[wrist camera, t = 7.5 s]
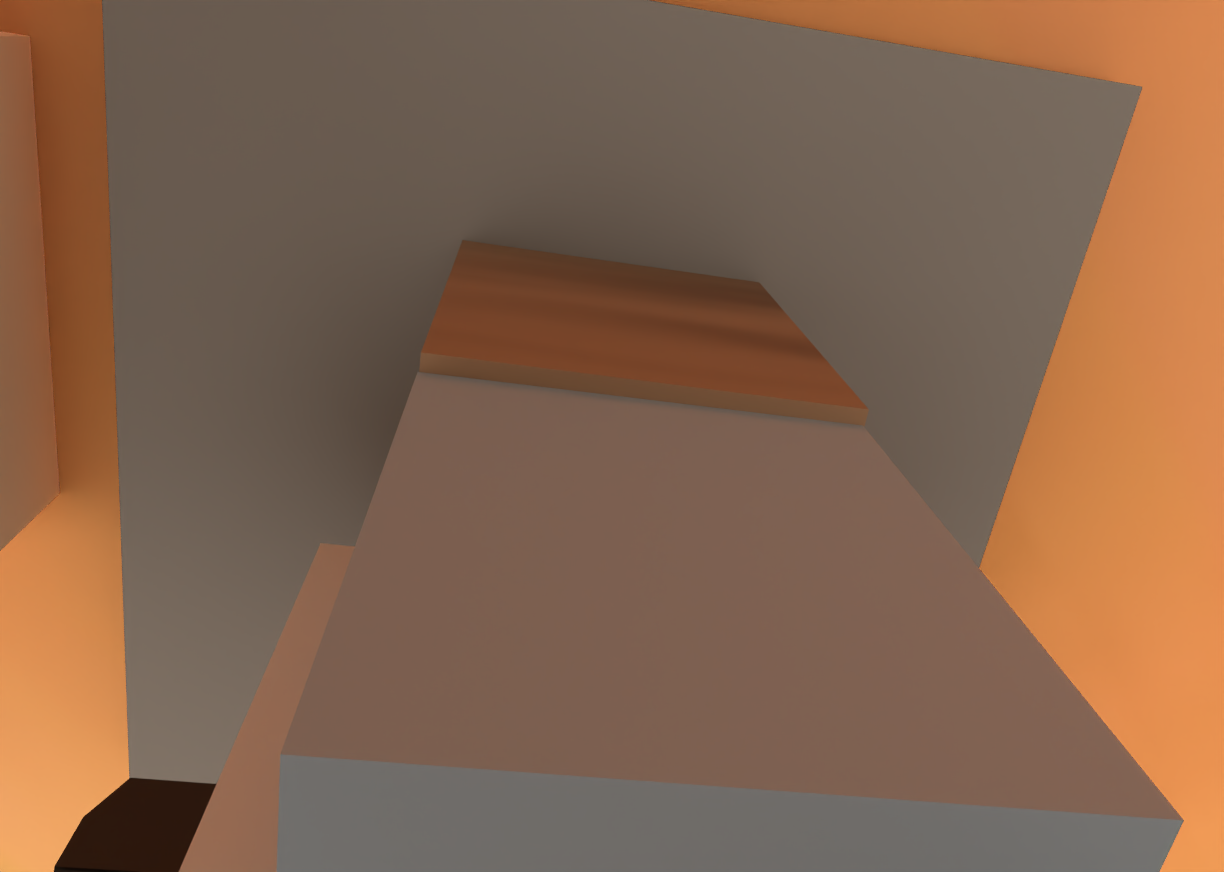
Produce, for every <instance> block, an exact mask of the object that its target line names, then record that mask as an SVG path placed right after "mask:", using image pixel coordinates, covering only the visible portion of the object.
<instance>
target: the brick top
mask: <svg viewBox="0 0 1224 872" xmlns="http://www.w3.org/2000/svg"><path fill="white" fill-rule="evenodd" d="M1183 821H1184V820H1183V819H1182V818H1181V816H1180V815H1179V814H1178V813H1177V812H1176V810H1175V809H1174V808H1173V807H1172V805H1171V804H1170V803H1169V802H1168V800H1167V799H1166V798H1165V797H1164V796H1163V794H1162V793H1161V792H1160V791H1159V789H1158V788H1157V787H1156V786H1155V784H1154V783H1153V782H1152V781H1151V780H1150V778H1149V777H1148V776H1147V775H1146V773H1145V772H1144V771H1143V770H1142V768H1141V767H1140V766H1139V765H1138V764H1137V762H1136V761H1135V760H1134V759H1133V757H1132V756H1131V755H1130V754H1129V752H1128V751H1127V750H1126V749H1125V748H1124V746H1123V745H1122V744H1121V743H1120V741H1119V740H1118V739H1117V738H1116V736H1115V735H1114V734H1113V733H1112V732H1111V730H1110V729H1109V728H1108V727H1107V725H1106V724H1105V723H1104V722H1103V720H1102V719H1101V718H1100V717H1099V716H1098V714H1097V713H1096V712H1095V711H1094V709H1093V708H1092V707H1091V706H1090V704H1089V703H1088V702H1087V701H1086V699H1085V698H1084V697H1083V696H1082V695H1081V693H1080V692H1079V691H1078V690H1077V688H1076V687H1075V686H1074V685H1073V683H1072V682H1071V681H1070V680H1069V679H1068V677H1067V676H1066V675H1065V674H1064V672H1063V671H1062V670H1061V669H1060V667H1059V666H1058V665H1057V664H1056V663H1055V661H1054V660H1053V659H1052V658H1051V656H1050V655H1049V654H1048V653H1047V651H1046V650H1045V649H1044V648H1043V647H1042V645H1041V644H1040V643H1039V642H1038V640H1037V639H1036V638H1035V637H1034V635H1033V634H1032V633H1031V632H1030V631H1029V629H1028V628H1027V627H1026V626H1025V624H1024V623H1023V622H1022V621H1021V619H1020V618H1019V617H1018V616H1017V615H1016V613H1015V612H1014V611H1013V610H1012V608H1011V607H1010V606H1009V605H1008V603H1007V602H1006V601H1005V600H1004V599H1003V597H1002V596H1001V595H1000V594H999V592H998V591H997V590H996V589H995V587H994V586H993V585H992V584H991V583H990V581H989V580H988V579H987V578H986V576H985V575H984V574H983V573H982V571H981V570H980V569H979V568H978V567H977V565H976V564H975V563H974V562H973V560H972V559H971V558H970V557H969V555H968V554H967V553H966V552H965V551H964V549H963V548H962V547H961V546H960V544H959V543H958V542H957V541H956V539H955V538H954V537H953V536H952V535H951V533H950V532H949V531H948V530H947V528H946V527H945V526H944V525H943V523H942V522H941V521H940V520H939V519H938V517H937V516H936V515H935V514H934V512H933V511H932V510H931V509H930V507H929V506H928V505H927V504H926V502H925V501H924V500H923V499H922V498H921V496H920V495H919V494H918V493H917V491H916V490H915V489H914V488H913V486H912V485H911V484H910V483H909V482H908V480H907V479H906V478H905V477H904V475H903V474H902V473H901V472H900V470H899V469H898V468H897V467H896V466H895V464H894V463H893V462H892V461H891V459H890V458H889V457H888V456H887V454H886V453H885V452H884V451H883V450H882V448H881V447H880V446H879V445H878V443H877V442H876V441H875V440H874V438H873V437H872V436H871V435H870V434H869V432H868V431H867V430H866V429H865V427H864V426H862V425H854V424H846V423H837V422H829V421H821V420H813V419H804V418H796V417H788V416H779V415H771V414H763V413H755V412H746V411H738V410H730V409H721V408H713V407H705V406H697V405H688V404H680V403H672V402H663V401H655V400H647V399H639V398H630V397H622V396H614V395H605V394H597V393H589V392H581V391H572V390H564V389H556V388H547V387H539V386H531V385H523V384H514V383H506V382H498V381H489V380H481V379H473V378H465V377H456V376H448V375H440V374H431V373H423V372H417V375H416V378H415V380H414V383H413V386H412V389H411V392H410V394H409V397H408V400H407V403H406V406H405V408H404V411H403V414H402V417H401V419H400V422H399V425H398V428H397V431H396V433H395V436H394V439H393V442H392V445H391V447H390V450H389V453H388V456H387V458H386V461H385V464H384V467H383V470H382V472H381V475H380V478H379V481H378V484H377V486H376V489H375V492H374V495H373V497H372V500H371V503H370V506H369V509H368V511H367V514H366V517H365V520H364V523H363V525H362V528H361V531H360V534H359V536H358V539H357V542H356V545H355V548H354V550H353V553H352V556H351V559H350V562H349V564H348V567H347V570H346V573H345V575H344V578H343V581H342V584H341V587H340V589H339V592H338V595H337V598H336V601H335V603H334V606H333V609H332V612H331V614H330V617H329V620H328V623H327V626H326V628H325V631H324V634H323V637H322V640H321V642H320V645H319V648H318V651H317V653H316V656H315V659H314V662H313V665H312V667H311V670H310V673H309V676H308V679H307V681H306V684H305V687H304V690H303V692H302V695H301V698H300V701H299V704H298V706H297V709H296V712H295V715H294V718H293V720H292V723H291V726H290V729H289V731H288V734H287V737H286V740H285V743H284V745H283V748H282V751H281V754H280V779H279V811H278V843H277V872H1159V871H1160V869H1161V867H1162V865H1163V863H1164V861H1165V859H1166V857H1167V855H1168V852H1169V850H1170V848H1171V846H1172V844H1173V842H1174V840H1175V838H1176V836H1177V834H1178V832H1179V829H1180V827H1181V825H1182V823H1183Z"/></svg>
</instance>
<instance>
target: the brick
mask: <svg viewBox="0 0 1224 872" xmlns="http://www.w3.org/2000/svg"><path fill="white" fill-rule="evenodd" d="M59 493H60V487H59V472H58V456H57V441H56V426H55V410H54V395H53V380H52V364H51V349H50V334H49V319H48V303H47V288H46V273H45V257H44V242H43V227H42V211H41V196H40V181H39V166H38V150H37V135H36V120H35V104H34V89H33V74H32V58H31V43H30V36H27V35H21V34H14V33H8V32H1V31H0V551H1V550H2V549H3V548H4V547H5V546H6V545H7V544H8V543H9V542H10V541H11V540H12V539H13V538H14V537H15V536H16V535H17V534H18V533H19V532H20V531H21V530H22V529H23V528H24V527H25V526H26V525H27V524H28V523H29V522H30V521H32V520H33V519H34V518H35V517H36V516H37V515H38V514H39V513H40V512H41V511H42V510H43V509H44V508H45V507H46V506H47V505H48V504H49V503H50V502H51V501H52V500H53V499H54V498H55V497H56V496H57V495H58V494H59Z"/></svg>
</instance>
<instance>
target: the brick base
mask: <svg viewBox="0 0 1224 872" xmlns="http://www.w3.org/2000/svg"><path fill="white" fill-rule="evenodd" d="M419 372H423V373H431V374H440V375H448V376H456V377H465V378H473V379H481V380H489V381H498V382H506V383H514V384H523V385H531V386H539V387H547V388H556V389H564V390H572V391H581V392H589V393H597V394H605V395H614V396H622V397H630V398H639V399H647V400H655V401H663V402H672V403H680V404H688V405H697V406H705V407H713V408H721V409H730V410H738V411H746V412H755V413H763V414H771V415H779V416H788V417H796V418H804V419H813V420H821V421H829V422H837V423H846V424H854V425H862V426H865V422H866V419H867V415H868V411H869V409H868V408H867V407H866V406H865V404H864V403H863V402H862V401H861V400H860V399H859V397H858V396H857V395H856V394H855V393H854V392H853V390H852V389H851V388H850V387H849V386H848V385H847V384H846V382H845V381H844V380H843V379H842V378H841V377H840V375H839V374H838V373H837V372H836V371H835V370H834V368H833V367H832V366H831V365H830V364H829V363H828V361H827V360H826V359H825V358H824V357H823V356H822V355H821V353H820V352H819V351H818V350H817V349H816V348H815V346H814V345H813V344H812V343H811V342H810V341H809V339H808V338H807V337H806V336H805V335H804V334H803V332H802V331H801V330H800V329H799V328H798V327H797V326H796V324H795V323H794V322H793V321H792V320H791V319H790V317H789V316H788V315H787V314H786V313H785V312H784V310H783V309H782V308H781V307H780V306H779V305H778V303H777V302H776V301H775V300H774V299H773V298H772V297H771V295H770V294H769V293H768V292H767V291H766V290H765V288H764V287H763V286H762V285H761V284H760V283H759V282H754V281H747V280H740V279H732V278H725V277H718V276H711V275H704V274H697V273H690V272H683V271H676V270H669V269H662V268H655V267H648V266H641V265H634V264H627V263H620V262H613V261H606V260H599V259H592V258H585V257H578V256H571V255H564V254H557V253H550V252H543V251H536V250H528V249H521V248H514V247H507V246H500V245H493V244H486V243H479V242H472V241H465V240H462V243H461V246H460V248H459V251H458V254H457V256H456V259H455V262H454V265H453V267H452V270H451V273H450V275H449V278H448V281H447V283H446V286H445V289H444V292H443V294H442V297H441V300H440V302H439V305H438V308H437V310H436V313H435V316H434V319H433V321H432V324H431V327H430V329H429V332H428V335H427V338H426V340H425V343H424V346H423V348H422V351H421V358H420V369H419Z"/></svg>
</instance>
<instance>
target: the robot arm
mask: <svg viewBox="0 0 1224 872" xmlns="http://www.w3.org/2000/svg"><path fill="white" fill-rule="evenodd" d="M354 548H355V547H354V546H344V545H335V544H325V543H320V546H319V548H318V550H317V553H316V555H315V557H314V560H313V562H312V564H311V567H310V569H309V571H308V574H307V576H306V578H305V580H304V583H303V585H302V587H301V590H300V592H299V594H298V597H297V599H296V601H295V604H294V606H293V608H292V611H291V613H290V615H289V618H288V620H287V622H286V624H285V627H284V629H283V631H282V634H281V636H280V638H279V641H278V643H277V645H276V648H275V650H274V652H273V655H272V657H271V659H270V662H269V664H268V666H267V668H266V671H265V673H264V675H263V678H262V680H261V682H260V685H259V687H258V689H257V692H256V694H255V696H254V699H253V701H252V703H251V706H250V708H249V710H248V713H247V715H246V717H245V719H244V722H243V724H242V726H241V729H240V731H239V733H238V736H237V738H236V740H235V743H234V745H233V747H232V750H231V752H230V754H229V757H228V759H227V761H226V763H225V766H224V768H223V770H222V773H221V775H220V777H219V780H218V782H217V784H212V783H198V782H184V781H170V780H157V779H143V778H130V779H129V780H127V781H126V782H125V783H124V784H123V785H121V786H120V787H119V788H118V789H117V790H115V791H114V792H113V793H112V794H111V795H109V796H108V797H107V798H106V799H105V800H103V801H102V802H101V803H100V804H99V805H97V806H96V807H95V808H94V809H93V810H91V811H90V812H89V813H88V814H87V815H85V816H84V817H83V819H82V820H81V822H80V824H79V826H78V827H77V829H76V831H75V832H74V834H73V836H72V838H71V839H70V841H69V843H68V844H67V846H66V848H65V850H64V851H63V853H62V855H61V856H60V858H59V860H58V862H57V863H56V865H55V869H54V872H277V843H278V811H279V779H280V754H281V751H282V748H283V745H284V743H285V740H286V737H287V734H288V731H289V729H290V726H291V723H292V720H293V718H294V715H295V712H296V709H297V706H298V704H299V701H300V698H301V695H302V692H303V690H304V687H305V684H306V681H307V679H308V676H309V673H310V670H311V667H312V665H313V662H314V659H315V656H316V653H317V651H318V648H319V645H320V642H321V640H322V637H323V634H324V631H325V628H326V626H327V623H328V620H329V617H330V614H331V612H332V609H333V606H334V603H335V601H336V598H337V595H338V592H339V589H340V587H341V584H342V581H343V578H344V575H345V573H346V570H347V567H348V564H349V562H350V559H351V556H352V553H353V550H354Z"/></svg>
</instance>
